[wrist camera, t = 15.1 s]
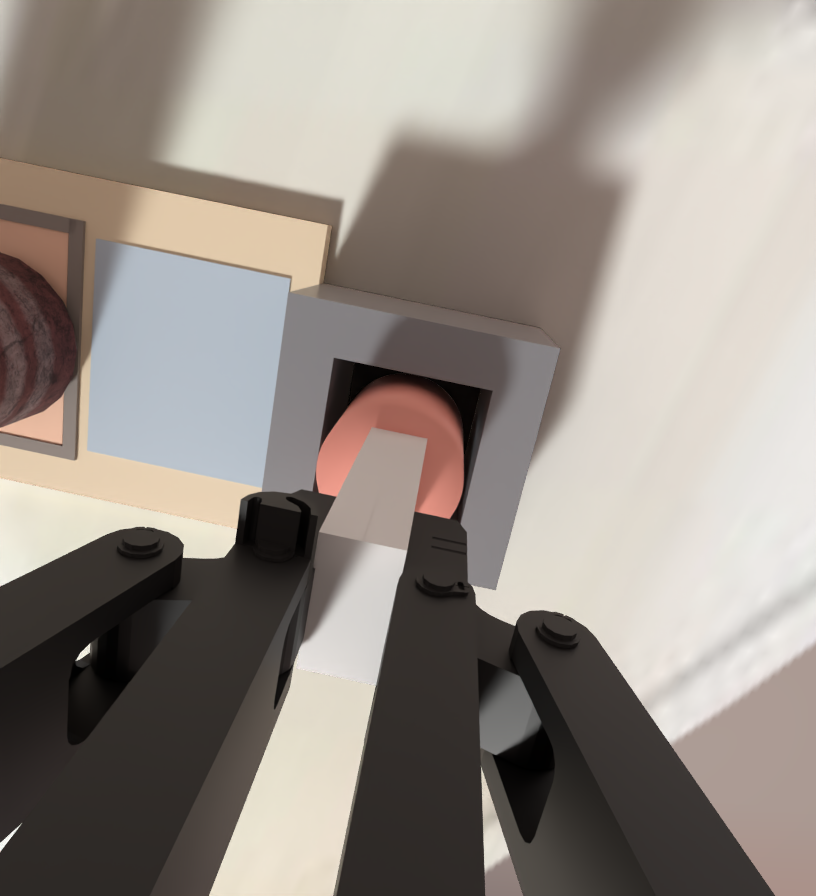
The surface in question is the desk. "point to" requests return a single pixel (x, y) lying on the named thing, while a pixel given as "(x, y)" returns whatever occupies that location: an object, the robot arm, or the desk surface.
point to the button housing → (426, 354)
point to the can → (32, 342)
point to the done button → (409, 412)
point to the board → (155, 339)
